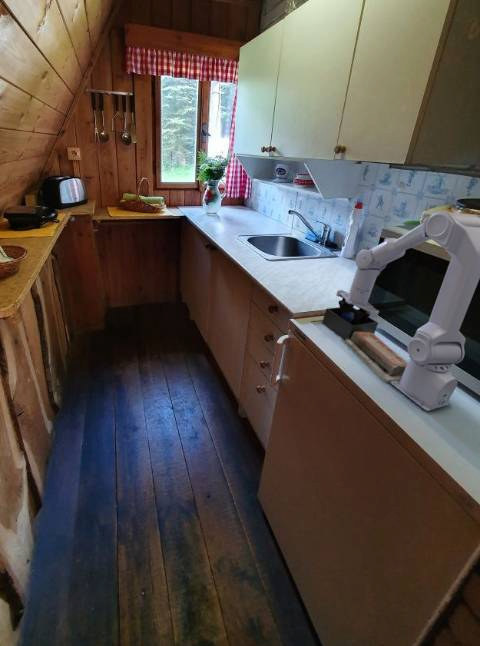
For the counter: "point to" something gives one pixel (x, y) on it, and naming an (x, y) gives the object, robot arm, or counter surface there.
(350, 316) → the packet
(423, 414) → the counter surface
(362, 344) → the packaged product
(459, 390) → the counter surface
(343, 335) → the waste bin
